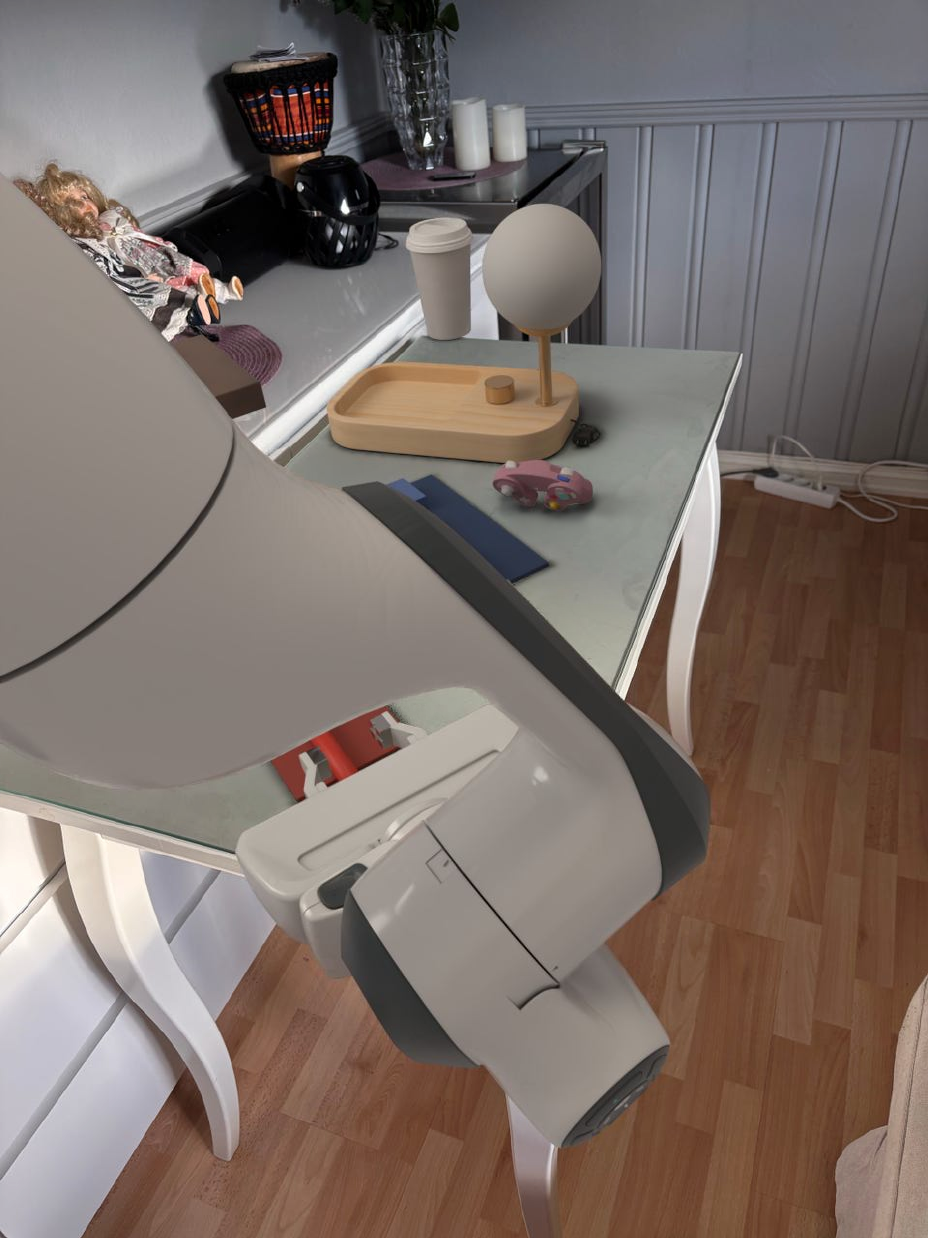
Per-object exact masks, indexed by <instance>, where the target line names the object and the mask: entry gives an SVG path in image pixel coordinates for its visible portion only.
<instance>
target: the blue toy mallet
mask: <svg viewBox="0 0 928 1238" xmlns="http://www.w3.org/2000/svg"><path fill="white" fill-rule="evenodd" d="M410 483H411V482H409V481H408V480H407V479H405V478H404V477H402V478H399V479H397V480H394V481H391V482H389V483H387V484H386V485H387V486H390V487H392V488H394V489H396V490H398V491H399V492H401V493H403V494H405V495H407V496H408V497H410V498H412V499H413V500H415V501H416V502H418V503H419V504H421V505H422V506H424V507H425V508H426V509H428V505H427V498H426V496H425V495H424V494H423V493H422V492H420V491H419V490H418V489H417V488H415V487H414V486H413V485H411V484H410ZM491 565H492V564H491Z"/></svg>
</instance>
